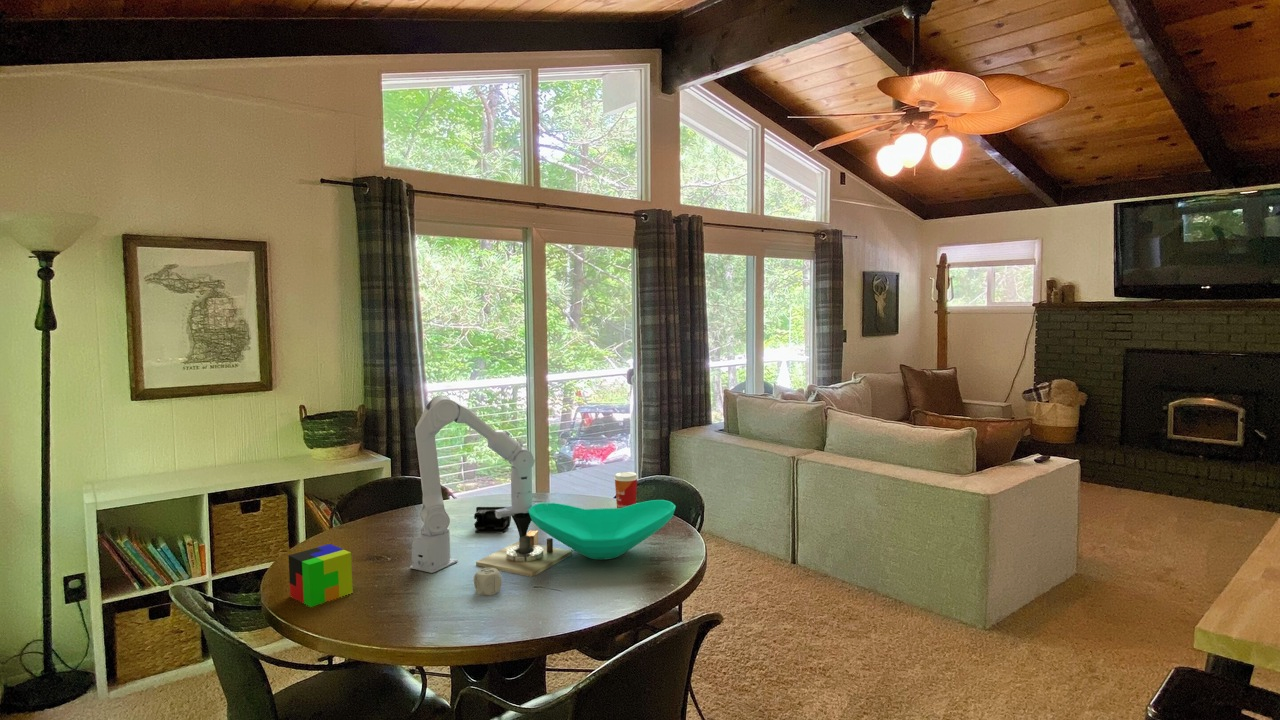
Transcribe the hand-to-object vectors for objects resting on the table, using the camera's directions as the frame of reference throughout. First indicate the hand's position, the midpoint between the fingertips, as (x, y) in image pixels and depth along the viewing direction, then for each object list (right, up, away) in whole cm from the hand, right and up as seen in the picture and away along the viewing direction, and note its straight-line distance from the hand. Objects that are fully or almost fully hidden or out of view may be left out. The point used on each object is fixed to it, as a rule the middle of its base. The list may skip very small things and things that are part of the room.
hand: (522, 539), depth 195 cm
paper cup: (+28, -1, +30) cm, 41 cm away
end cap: (-12, -2, +20) cm, 24 cm away
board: (+2, -4, -7) cm, 8 cm away
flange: (+2, -2, -5) cm, 6 cm away
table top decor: (+22, -3, -4) cm, 23 cm away
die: (-4, -6, -28) cm, 28 cm away
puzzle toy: (-43, -6, -28) cm, 52 cm away
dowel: (+8, -3, -4) cm, 9 cm away
